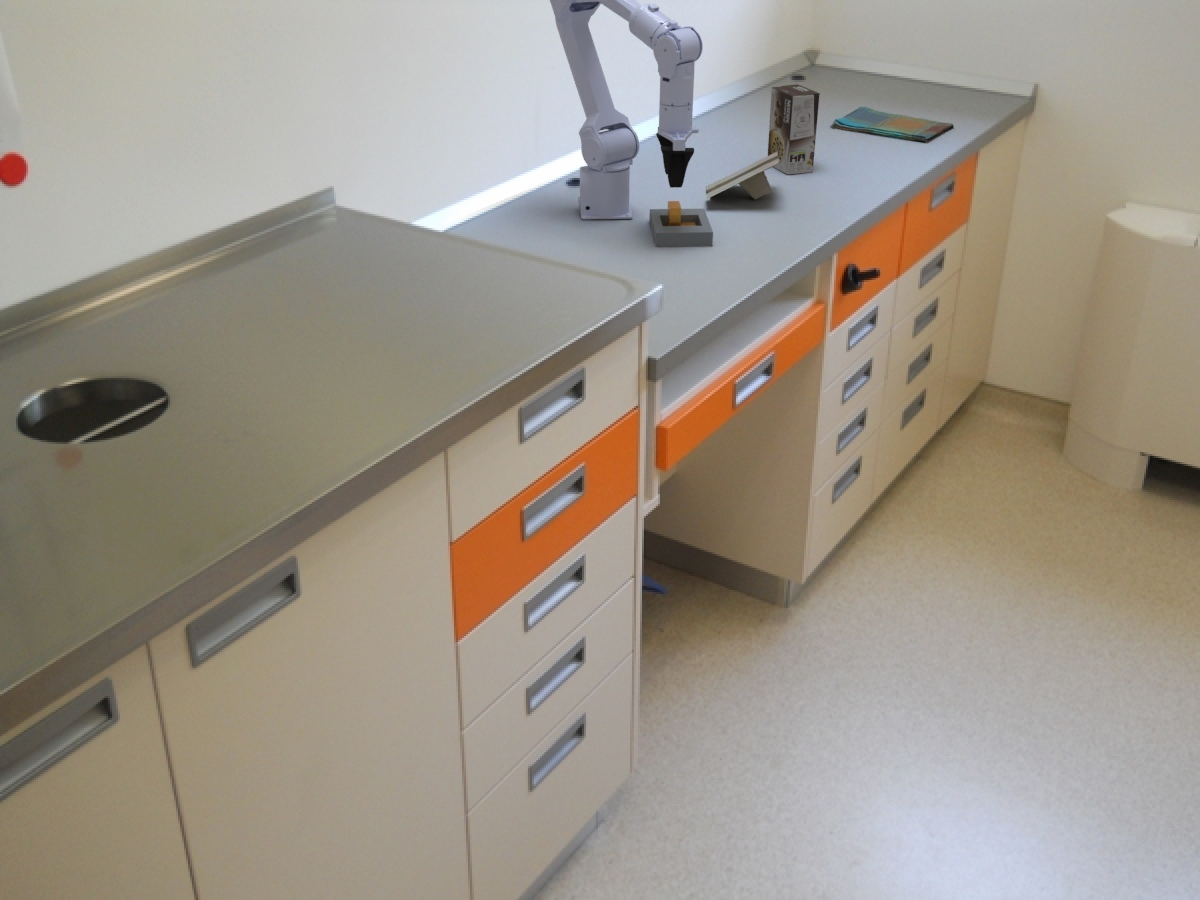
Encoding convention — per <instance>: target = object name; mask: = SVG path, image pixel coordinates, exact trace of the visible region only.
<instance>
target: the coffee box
mask: <svg viewBox="0 0 1200 900" xmlns="http://www.w3.org/2000/svg"><path fill="white" fill-rule="evenodd" d="M770 95H771V96H770V110H769V112H770V113H769V126H768V127H769V128H768V129H769V130H768V141H767V143H768V144H767V156H769V155H771V154H773V153H775V152H777V153H778V154H777V155H778V157H779V159H780V163H779V164H777V165H775V166H773V167H772V168H775V169H776V170H778V171H780V172H782V173H784V174H786V175H789V176H790V175H796V174H803V173H804V174H806V173H813V171H814V162H815V161H814V160H815V151H816V137H817V127H818V117H819V103H820V95H821V93H820V92H817V91H815V90H812V89H810V88H808V87H805V86H803V85H800V84H797V83H795V84H787V85H786V84H785V85H780V86H772V87H771V94H770Z"/></svg>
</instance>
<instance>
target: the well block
mask: <svg viewBox="0 0 1200 900" xmlns="http://www.w3.org/2000/svg"><path fill="white" fill-rule="evenodd" d="M667 212H668V208H649V220H648V221H649V226H650V230H651V234H652V237H653V241H654V246H655V247H656V248H657V247H662V248H663V247H713V243H714V241H713V239H714V231H713V229H712V226H711V223H710V220H709V217H708V215H707V213H706V210H705V208H681V222H695V225H696V226H667Z"/></svg>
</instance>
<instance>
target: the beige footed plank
mask: <svg viewBox="0 0 1200 900" xmlns="http://www.w3.org/2000/svg"><path fill="white" fill-rule="evenodd" d="M777 154H778V153H777V152H775V153H773V154H771V155H769V156H768V155H767V156H765V157H763V158H761V159H759V160H756V161H755V162H752V163H751V164H749V165H746V166H745V167H743V168H741V169H739V170H738V171H735V172H733V173H730V174H728V175H726V176H725V177H722V178H721V179H718V180H716V181H715V182H713V183H710V184H708V185H707V186H706V188H705V190H706V192H707V193H706V200H709V199H710V198H713V197H714V196H716V195H718V194H720V193H723V192H725V191H726V190H728V189H731V188H732V187H735V186H737V185H739V186H740V187H741V188H742V189H743V190H744V191H745V192H746V193H747V194H748V195H750V197H752V199H753V200H757V199H760V198H762V197H763V196H765V195H767V194H770V193H771V192H772V191H773V190H772V187H771V185H770V183H769V180H768V176H767V175H766V174H765V173H766V172H765V171H767V170H769V169H771V168H774V167H773V166H775V165H777V164H779V163H780V159H779V157H778V155H777Z"/></svg>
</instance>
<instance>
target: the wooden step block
mask: <svg viewBox="0 0 1200 900" xmlns="http://www.w3.org/2000/svg"><path fill="white" fill-rule="evenodd" d="M667 209H668V212H667V226H696V225H695V222H681V209H682V207H681V203H680V201H679V200H668V201H667Z"/></svg>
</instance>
